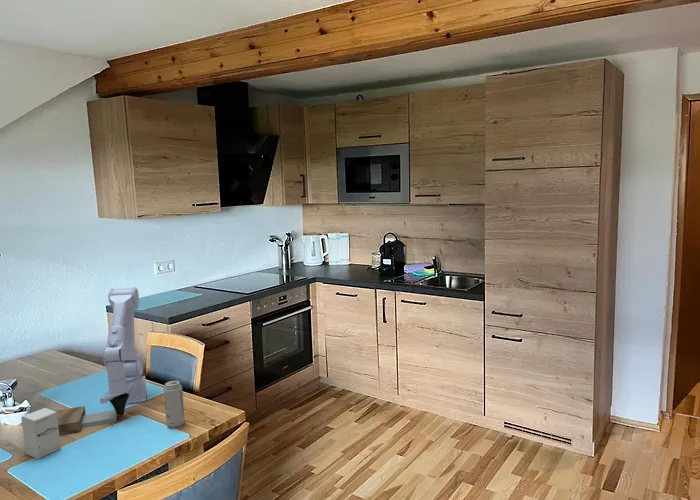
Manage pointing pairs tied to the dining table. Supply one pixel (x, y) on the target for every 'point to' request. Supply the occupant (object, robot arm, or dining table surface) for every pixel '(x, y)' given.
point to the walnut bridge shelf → (70, 420)
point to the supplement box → (41, 432)
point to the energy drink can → (174, 404)
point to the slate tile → (98, 418)
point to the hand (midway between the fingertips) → (120, 414)
